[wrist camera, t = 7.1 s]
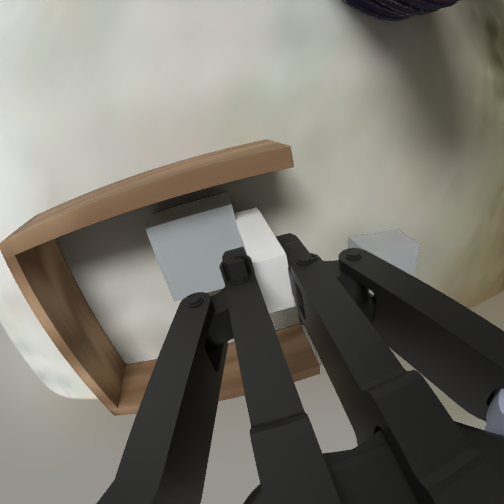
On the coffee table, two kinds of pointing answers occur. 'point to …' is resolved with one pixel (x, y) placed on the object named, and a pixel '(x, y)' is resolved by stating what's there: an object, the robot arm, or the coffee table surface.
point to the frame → (74, 304)
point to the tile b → (390, 248)
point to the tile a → (194, 243)
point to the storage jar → (398, 7)
